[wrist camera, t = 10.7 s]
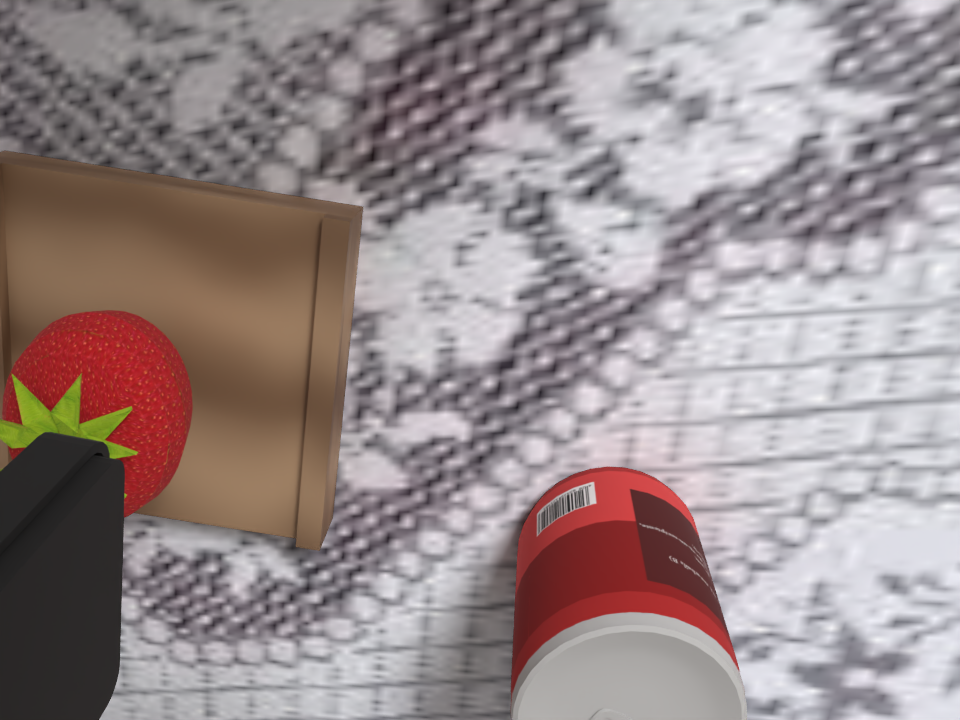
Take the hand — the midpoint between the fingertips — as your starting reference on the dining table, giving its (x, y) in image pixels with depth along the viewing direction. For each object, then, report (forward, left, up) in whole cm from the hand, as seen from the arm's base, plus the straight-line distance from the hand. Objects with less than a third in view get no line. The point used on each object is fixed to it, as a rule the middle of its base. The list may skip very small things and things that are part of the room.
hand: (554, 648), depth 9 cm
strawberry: (+9, -14, -25) cm, 30 cm away
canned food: (+15, +5, -27) cm, 32 cm away
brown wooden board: (+9, -14, -27) cm, 32 cm away
